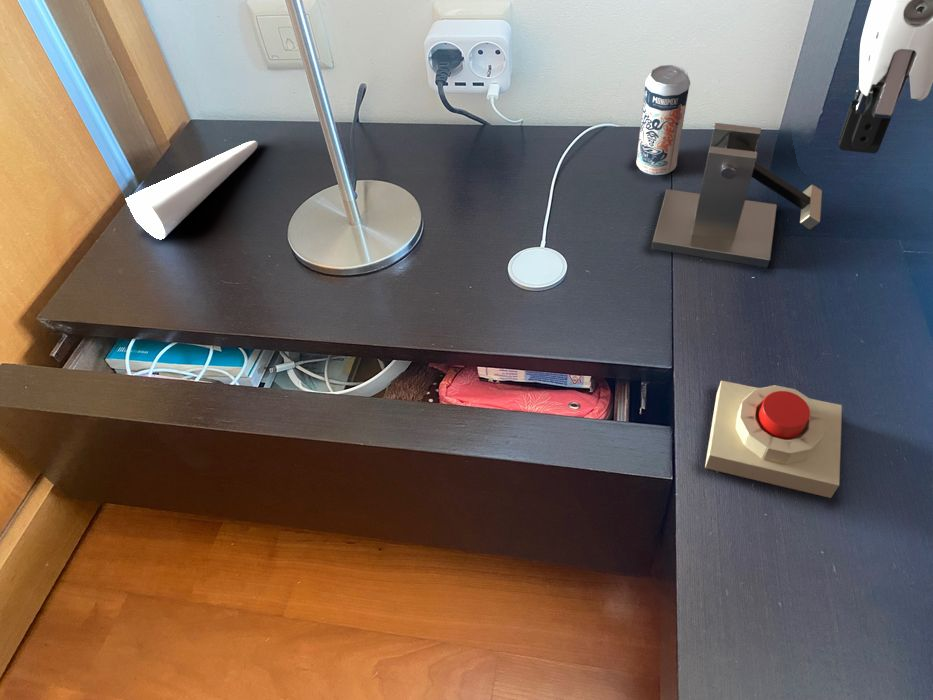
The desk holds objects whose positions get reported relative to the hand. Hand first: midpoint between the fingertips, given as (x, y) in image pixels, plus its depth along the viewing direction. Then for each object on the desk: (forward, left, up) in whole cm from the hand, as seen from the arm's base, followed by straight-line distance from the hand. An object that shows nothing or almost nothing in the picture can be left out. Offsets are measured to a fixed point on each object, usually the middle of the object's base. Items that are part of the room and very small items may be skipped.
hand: (857, 146), depth 65 cm
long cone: (+71, +5, -14) cm, 73 cm away
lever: (+7, -2, -7) cm, 10 cm away
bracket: (+10, -2, -14) cm, 17 cm away
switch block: (+2, +24, -14) cm, 28 cm away
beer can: (+18, -12, -14) cm, 26 cm away
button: (+2, +24, -10) cm, 26 cm away
